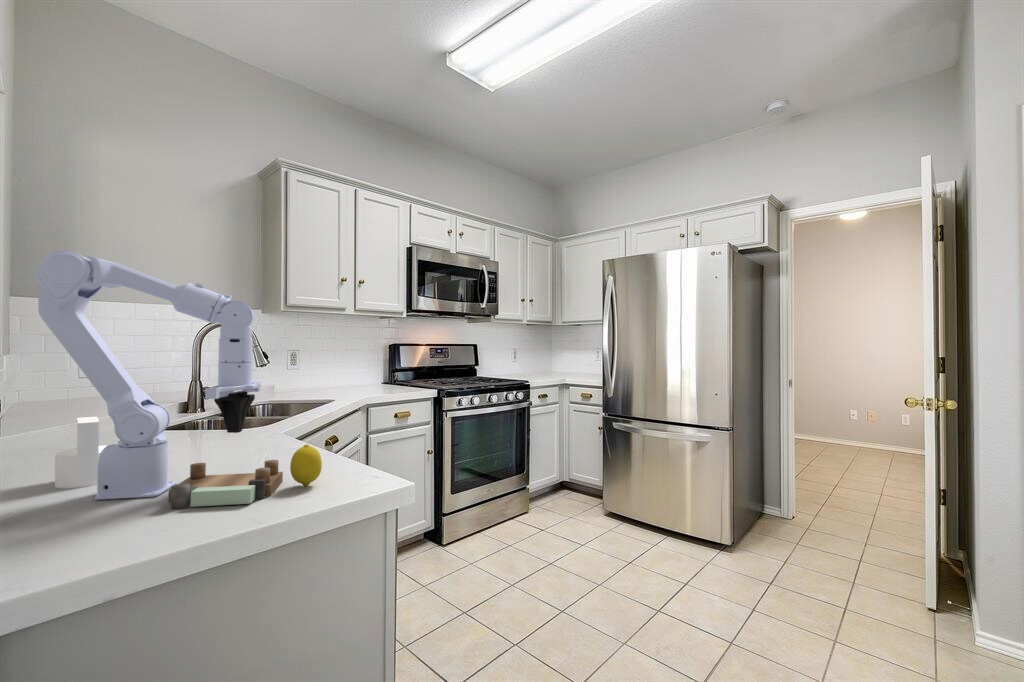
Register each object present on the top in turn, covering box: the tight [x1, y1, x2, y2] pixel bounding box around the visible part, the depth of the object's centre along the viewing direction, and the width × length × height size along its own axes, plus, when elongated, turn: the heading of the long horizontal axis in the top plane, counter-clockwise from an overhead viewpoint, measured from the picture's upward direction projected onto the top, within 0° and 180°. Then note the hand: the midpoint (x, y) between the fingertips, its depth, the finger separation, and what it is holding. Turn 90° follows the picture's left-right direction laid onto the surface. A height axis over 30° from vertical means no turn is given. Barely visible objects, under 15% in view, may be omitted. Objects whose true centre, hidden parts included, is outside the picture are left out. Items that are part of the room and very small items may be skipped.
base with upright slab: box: [54, 416, 107, 489], centre depth 93 cm, size 9×9×12 cm
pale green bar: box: [190, 485, 255, 508], centre depth 80 cm, size 9×2×2 cm, turn 102°
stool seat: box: [167, 459, 284, 510], centre depth 85 cm, size 16×13×4 cm
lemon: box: [289, 444, 323, 487], centre depth 91 cm, size 6×6×8 cm
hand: (234, 432), depth 92 cm, fingers closed
